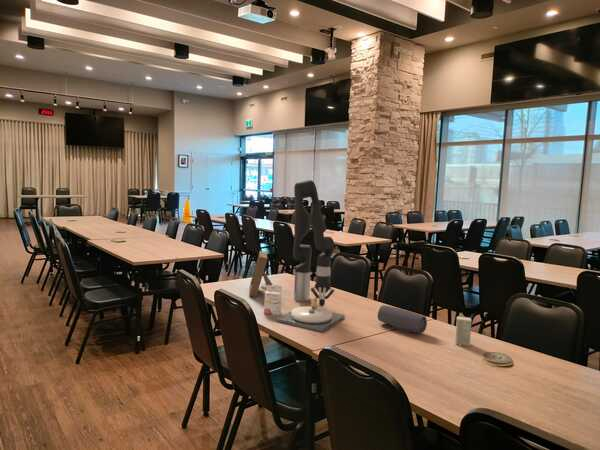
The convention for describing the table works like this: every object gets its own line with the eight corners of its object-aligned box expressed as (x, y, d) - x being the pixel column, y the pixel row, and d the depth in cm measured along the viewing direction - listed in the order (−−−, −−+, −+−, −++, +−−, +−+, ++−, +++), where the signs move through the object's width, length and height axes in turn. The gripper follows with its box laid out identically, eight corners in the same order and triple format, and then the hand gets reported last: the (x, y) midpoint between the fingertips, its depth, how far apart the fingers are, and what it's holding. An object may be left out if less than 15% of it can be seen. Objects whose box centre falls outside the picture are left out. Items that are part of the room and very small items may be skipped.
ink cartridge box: (263, 314, 221) (264, 287, 220) (265, 311, 226) (266, 284, 225) (279, 315, 221) (280, 288, 219) (281, 312, 226) (282, 285, 224)
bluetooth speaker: (426, 333, 202) (428, 313, 201) (417, 338, 196) (419, 317, 195) (386, 321, 218) (387, 302, 217) (376, 325, 211) (377, 306, 210)
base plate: (301, 308, 233) (301, 304, 233) (344, 317, 220) (344, 313, 220) (276, 321, 210) (276, 317, 210) (322, 332, 198) (322, 327, 198)
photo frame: (249, 297, 252) (250, 256, 249) (249, 288, 273) (251, 250, 271) (273, 297, 253) (275, 257, 251) (272, 288, 275) (274, 251, 272)
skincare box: (469, 343, 191) (471, 317, 190) (469, 347, 187) (472, 320, 186) (454, 341, 193) (456, 315, 192) (454, 344, 189) (457, 318, 188)
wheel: (303, 307, 230) (303, 295, 229) (338, 314, 219) (339, 301, 219) (283, 317, 211) (283, 304, 211) (320, 326, 201) (321, 312, 200)
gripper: (336, 273, 224) (334, 305, 226) (311, 271, 226) (310, 302, 228) (335, 276, 217) (333, 309, 219) (310, 274, 219) (308, 306, 221)
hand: (321, 305), depth 223 cm, fingers closed
